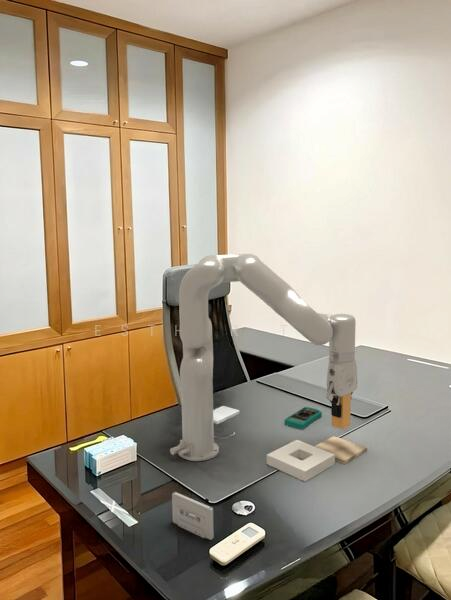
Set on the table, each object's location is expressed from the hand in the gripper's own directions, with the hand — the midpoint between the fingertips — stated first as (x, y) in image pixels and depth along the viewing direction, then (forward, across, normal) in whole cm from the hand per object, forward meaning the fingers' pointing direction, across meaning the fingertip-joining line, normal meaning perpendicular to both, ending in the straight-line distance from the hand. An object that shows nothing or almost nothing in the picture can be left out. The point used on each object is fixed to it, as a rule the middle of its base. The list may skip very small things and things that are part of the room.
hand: (340, 413), depth 160 cm
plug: (+4, 0, 0) cm, 4 cm away
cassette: (+12, -58, +1) cm, 60 cm away
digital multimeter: (+13, +11, +22) cm, 28 cm away
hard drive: (+12, -7, +46) cm, 48 cm away
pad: (+12, 0, 0) cm, 12 cm away
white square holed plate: (+12, -15, +3) cm, 20 cm away
